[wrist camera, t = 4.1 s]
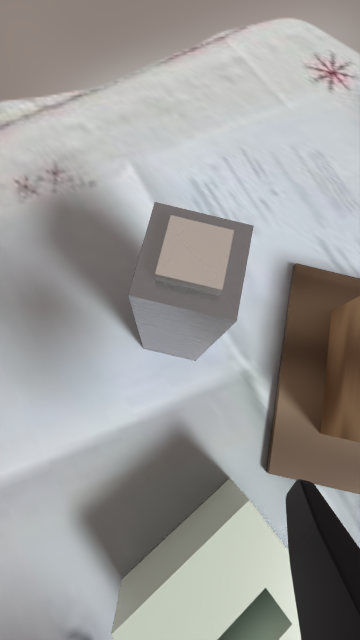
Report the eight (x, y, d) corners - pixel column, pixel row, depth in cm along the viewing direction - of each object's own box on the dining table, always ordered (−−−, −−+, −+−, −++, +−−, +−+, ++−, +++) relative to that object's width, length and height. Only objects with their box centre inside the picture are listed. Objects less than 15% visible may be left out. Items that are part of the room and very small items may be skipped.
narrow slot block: (214, 720, 17) (233, 830, 13) (121, 579, 18) (110, 634, 14) (320, 597, 19) (368, 657, 15) (229, 478, 20) (249, 499, 16)
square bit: (195, 360, 22) (241, 316, 10) (143, 348, 22) (126, 289, 10) (205, 311, 23) (258, 217, 11) (156, 299, 23) (154, 191, 11)
